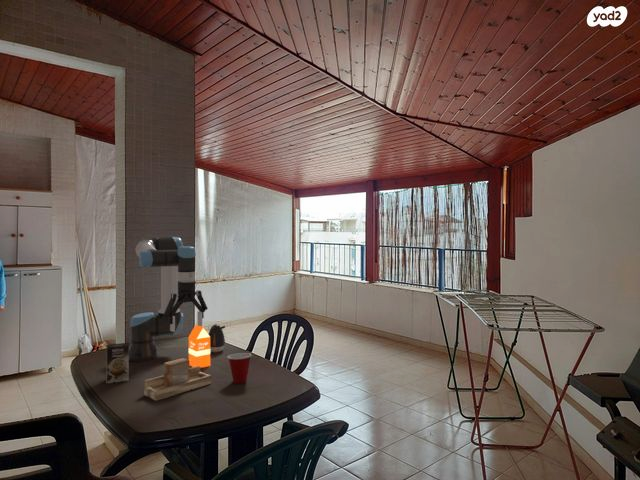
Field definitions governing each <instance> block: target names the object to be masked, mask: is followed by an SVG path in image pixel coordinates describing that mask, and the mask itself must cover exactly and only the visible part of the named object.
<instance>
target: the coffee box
mask: <svg viewBox="0 0 640 480" xmlns="http://www.w3.org/2000/svg"><path fill="white" fill-rule="evenodd" d="M129 347H130V344H129V343H128V342H121V343H111V344H110V343H109V344H106V368H105V369H106V372H105V373H106V374H105V375H106V384H107V383H108V384H113V382H115V383H121V381H122V382H128V381H130V380H129V379H130V378H129V377H130V376H129V373H130V372H129V369H130V368H129V367H130V366H129V365H130V364H129V362H130V360H129Z"/></svg>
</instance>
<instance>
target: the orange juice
mask: <svg viewBox="0 0 640 480" xmlns="http://www.w3.org/2000/svg"><path fill="white" fill-rule="evenodd" d="M188 360H189V362H190V367H191V368H192V367H196V366H200V369H201V368H206V367H211V351H210V336H209V332H208V331H207V330H206V329H205V328H204V326H201V327H200V326H197V324H195V325H194V327H193V328H192V330H191V332H190V333H189V335H188Z"/></svg>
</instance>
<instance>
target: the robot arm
mask: <svg viewBox="0 0 640 480" xmlns="http://www.w3.org/2000/svg"><path fill="white" fill-rule="evenodd" d="M134 251H135V254H136V256H137V257H138V259H139V261H138V263H139V266H140V267H141V268H157V267H158V268H160V271H161V272H160V274H161V277H160V279H161V281H160V284H161V285H160V286H161V287H160V309H159V310H158V311H157V312H158V313H157V314H155V313H154V312H151V311H150V312H149V311H148V312H141V313H138V314H136V315H133V316H132V317H131V318H130V325H129V326H130V344H129V362H130V361H131V362H144V361H150V360H154V359H155V358H157V357H158V349H157V347H156V344H155V337H165V336H174V335H179V334H181V332H182V331H183V326H184V321H185V320H184V312H181V309H180V307H181V306H182V305H183V303H190V302H191V303H192V304H193V305H194V306H195V308H196V309H197V310H198V311H197V324H196V325H197V326H200V327H203V319H204V318H205V316H204V315H205V312H206V311H207V310H208V306H207V304H206V301H205V300H204V297H203V294H202V290H198V289H197V290H196V257H197V256H196V255H197V254H196V247H195V246H189V245H187V246H184V244H183V240H182V238H180V237H179V236H149V237H146V238H143V239H141V240H139V241H138V242H137V243H136V244H135V247H134ZM195 296H196V297H195ZM196 298H197V299H196Z"/></svg>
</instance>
